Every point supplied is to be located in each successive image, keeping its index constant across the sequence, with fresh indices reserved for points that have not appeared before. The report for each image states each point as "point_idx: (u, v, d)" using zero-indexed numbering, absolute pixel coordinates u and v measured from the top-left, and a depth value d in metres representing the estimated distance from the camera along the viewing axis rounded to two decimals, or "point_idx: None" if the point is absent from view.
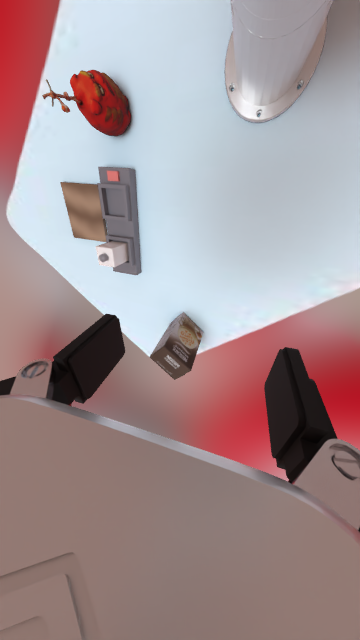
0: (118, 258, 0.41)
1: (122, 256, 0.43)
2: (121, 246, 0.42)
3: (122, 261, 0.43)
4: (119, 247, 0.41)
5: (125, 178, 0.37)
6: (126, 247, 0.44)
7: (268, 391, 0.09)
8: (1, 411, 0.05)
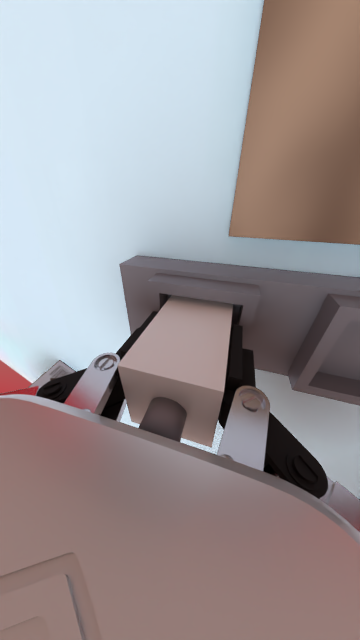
0: None
1: None
2: None
3: None
4: None
5: None
6: None
7: None
8: (1, 411, 0.05)
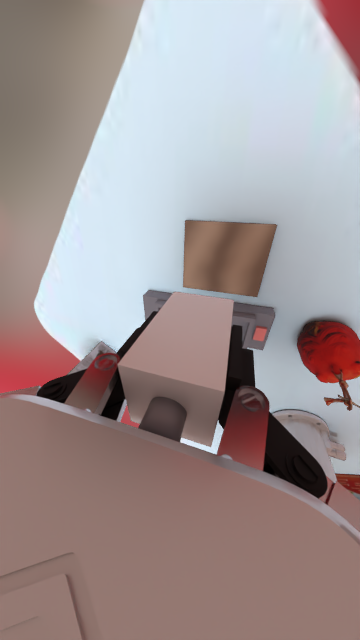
0: None
1: None
2: None
3: None
4: None
5: (254, 344, 0.31)
6: None
7: None
8: (1, 411, 0.05)
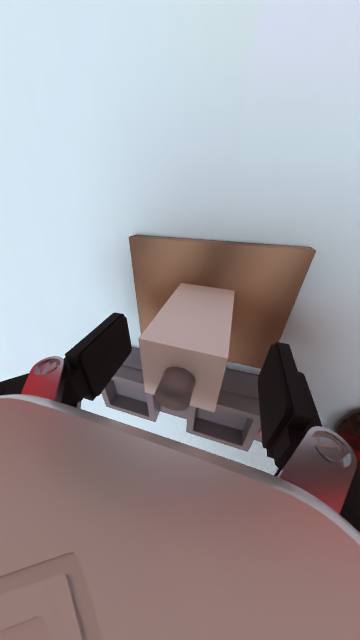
0: None
1: None
2: None
3: None
4: None
5: (260, 436, 0.19)
6: None
7: (260, 385, 0.10)
8: (1, 411, 0.05)
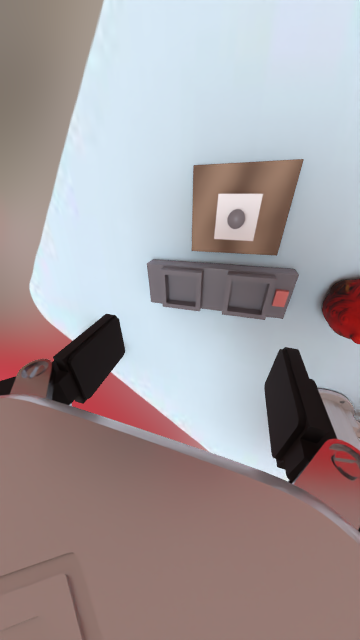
0: None
1: None
2: None
3: None
4: None
5: (273, 312, 0.28)
6: None
7: (268, 391, 0.09)
8: (1, 411, 0.05)
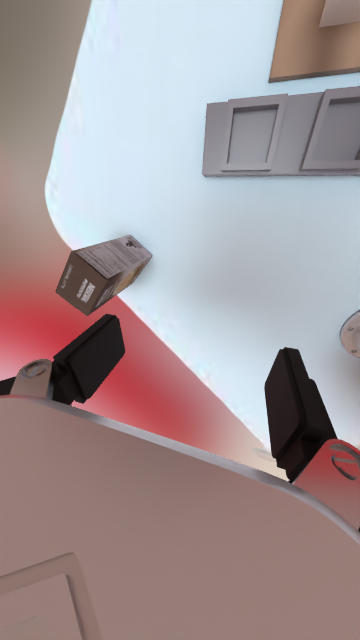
0: None
1: None
2: None
3: None
4: None
5: None
6: None
7: (268, 391, 0.09)
8: (0, 411, 0.05)
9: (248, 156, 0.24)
